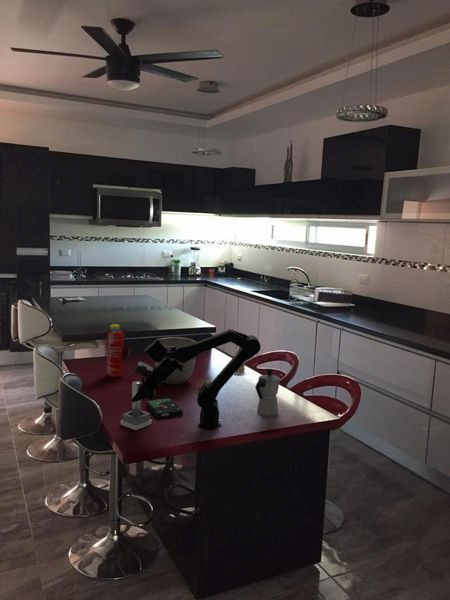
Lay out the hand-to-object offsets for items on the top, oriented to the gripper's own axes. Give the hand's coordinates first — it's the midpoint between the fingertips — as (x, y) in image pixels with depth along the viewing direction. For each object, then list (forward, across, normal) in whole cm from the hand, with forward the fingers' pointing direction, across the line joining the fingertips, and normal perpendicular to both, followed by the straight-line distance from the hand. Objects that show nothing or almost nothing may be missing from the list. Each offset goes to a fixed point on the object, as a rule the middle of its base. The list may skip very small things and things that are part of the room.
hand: (133, 399), depth 186 cm
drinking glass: (+4, 0, +6) cm, 7 cm away
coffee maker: (-29, -14, +43) cm, 54 cm away
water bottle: (+18, -59, -4) cm, 61 cm away
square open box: (+6, 0, +8) cm, 10 cm away
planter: (-2, -52, +16) cm, 54 cm away
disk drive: (0, -14, +15) cm, 20 cm away
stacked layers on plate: (-24, -71, +38) cm, 84 cm away
